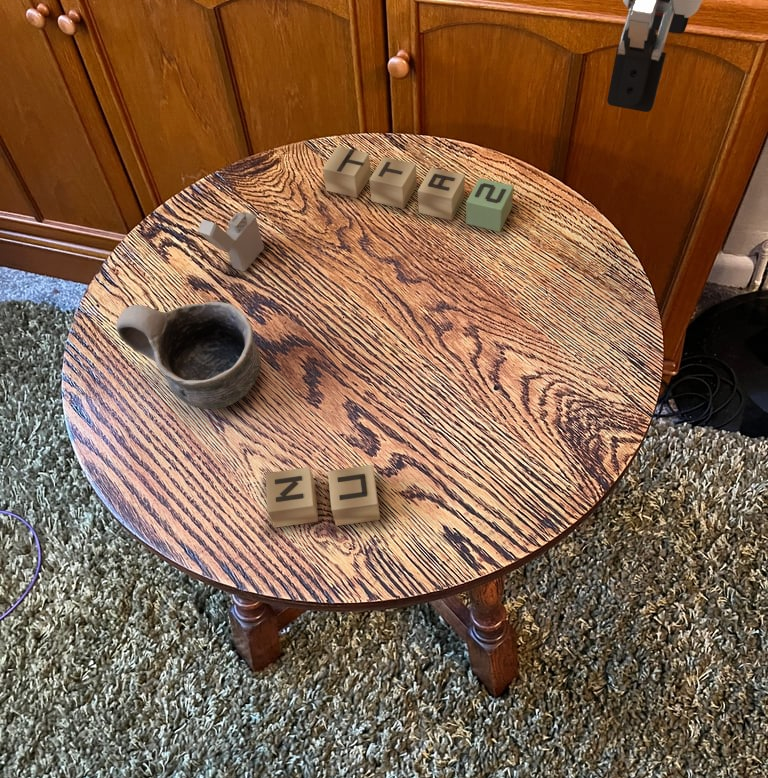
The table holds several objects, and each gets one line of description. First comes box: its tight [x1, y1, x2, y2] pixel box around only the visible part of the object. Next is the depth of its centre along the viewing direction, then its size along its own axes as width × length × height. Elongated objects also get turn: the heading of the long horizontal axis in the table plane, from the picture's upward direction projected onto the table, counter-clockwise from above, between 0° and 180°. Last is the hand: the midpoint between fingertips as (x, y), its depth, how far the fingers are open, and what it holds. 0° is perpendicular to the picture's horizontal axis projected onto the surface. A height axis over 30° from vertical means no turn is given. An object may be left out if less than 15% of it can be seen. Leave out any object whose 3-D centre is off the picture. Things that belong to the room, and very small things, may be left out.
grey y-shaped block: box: [197, 211, 265, 272], centre depth 81 cm, size 7×2×8 cm, turn 151°
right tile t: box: [368, 156, 418, 210], centre depth 87 cm, size 4×4×3 cm
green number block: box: [465, 177, 515, 233], centre depth 84 cm, size 4×4×3 cm
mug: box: [116, 301, 262, 410], centre depth 72 cm, size 10×12×10 cm
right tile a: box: [417, 166, 466, 222], centre depth 85 cm, size 4×4×3 cm
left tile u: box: [327, 464, 381, 527], centre depth 68 cm, size 4×4×3 cm
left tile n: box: [265, 466, 319, 528], centre depth 68 cm, size 4×4×3 cm
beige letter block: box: [322, 145, 372, 199], centre depth 88 cm, size 4×4×3 cm
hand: (647, 66), depth 57 cm, fingers open, 9 cm apart
